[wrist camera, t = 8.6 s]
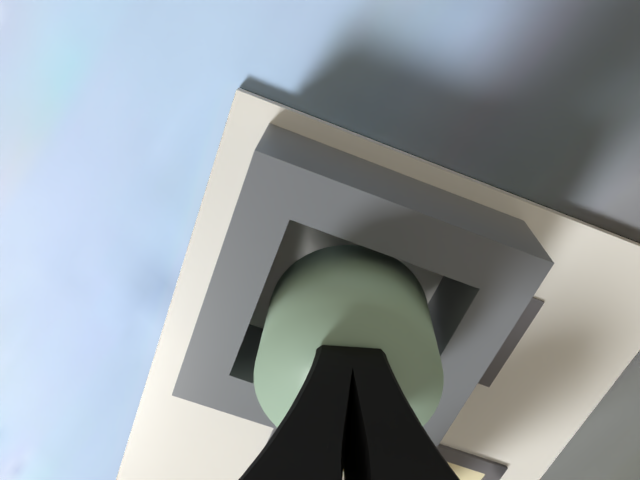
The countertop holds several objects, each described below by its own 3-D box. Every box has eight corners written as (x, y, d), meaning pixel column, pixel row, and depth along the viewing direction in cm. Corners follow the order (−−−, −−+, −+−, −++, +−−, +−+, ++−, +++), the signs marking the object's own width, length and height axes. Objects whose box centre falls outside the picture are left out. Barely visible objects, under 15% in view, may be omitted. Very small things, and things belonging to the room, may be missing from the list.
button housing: (410, 413, 18) (419, 474, 15) (194, 341, 17) (171, 395, 15) (523, 220, 15) (554, 263, 12) (269, 122, 14) (254, 150, 12)
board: (413, 632, 23) (414, 644, 22) (97, 541, 21) (93, 552, 21) (695, 265, 15) (703, 272, 15) (238, 87, 14) (235, 90, 13)
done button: (389, 398, 15) (396, 474, 13) (248, 351, 15) (230, 422, 12) (455, 278, 14) (477, 341, 11) (300, 221, 13) (290, 274, 11)
